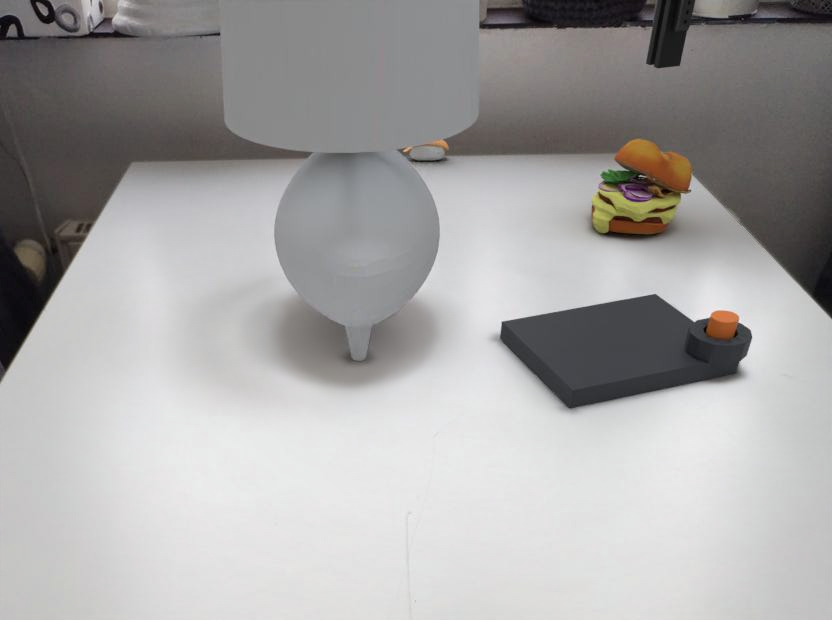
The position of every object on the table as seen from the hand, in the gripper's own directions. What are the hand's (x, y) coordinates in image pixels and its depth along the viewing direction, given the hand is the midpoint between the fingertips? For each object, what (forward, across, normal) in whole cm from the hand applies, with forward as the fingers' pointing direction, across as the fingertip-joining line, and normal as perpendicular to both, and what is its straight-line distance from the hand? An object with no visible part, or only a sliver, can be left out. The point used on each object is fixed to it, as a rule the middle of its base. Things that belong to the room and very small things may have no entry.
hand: (662, 64), depth 95 cm
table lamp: (+17, +14, -40) cm, 45 cm away
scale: (+17, +28, -19) cm, 37 cm away
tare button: (+13, +33, -12) cm, 38 cm away
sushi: (+17, -32, -13) cm, 39 cm away
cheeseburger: (+17, 0, 0) cm, 17 cm away
